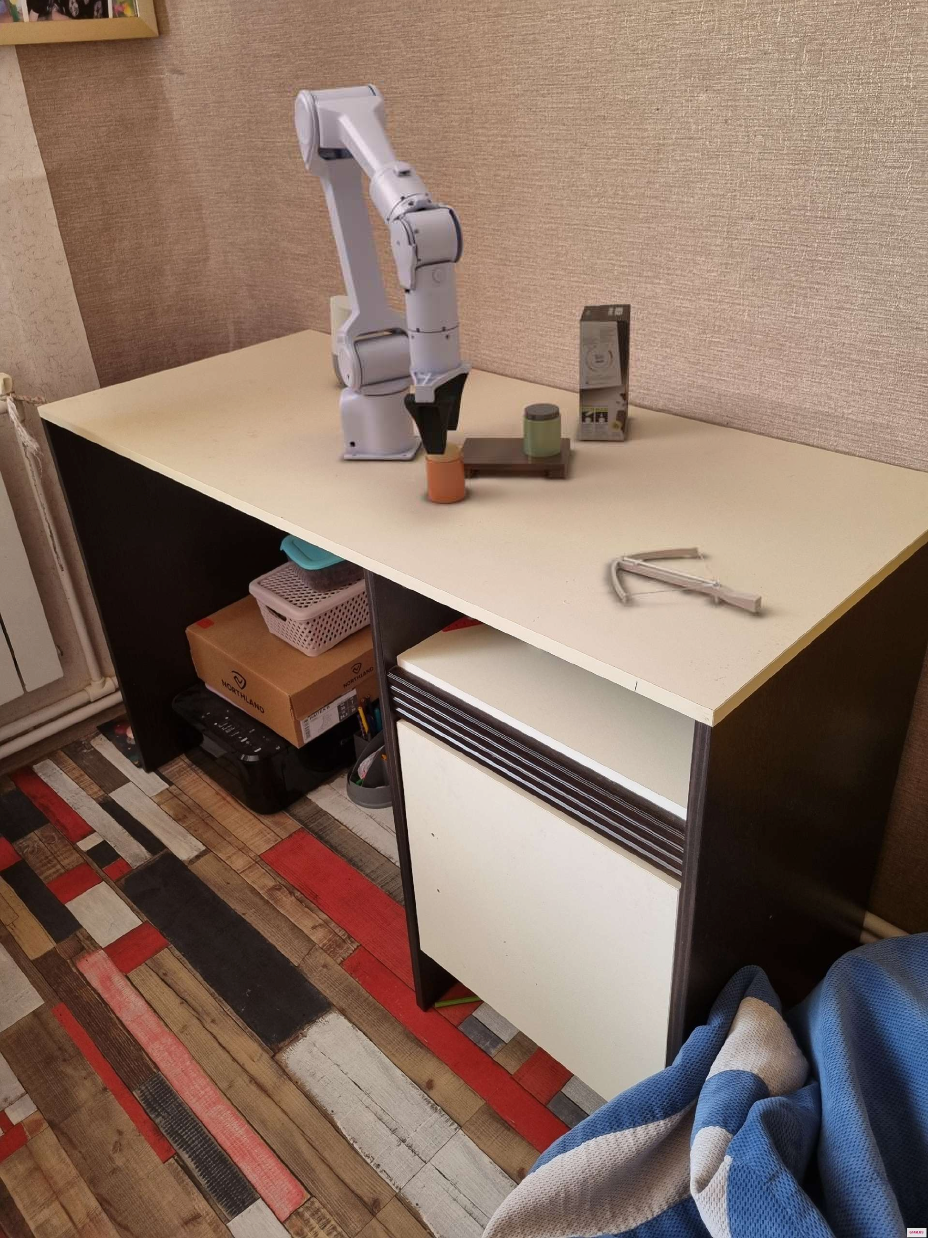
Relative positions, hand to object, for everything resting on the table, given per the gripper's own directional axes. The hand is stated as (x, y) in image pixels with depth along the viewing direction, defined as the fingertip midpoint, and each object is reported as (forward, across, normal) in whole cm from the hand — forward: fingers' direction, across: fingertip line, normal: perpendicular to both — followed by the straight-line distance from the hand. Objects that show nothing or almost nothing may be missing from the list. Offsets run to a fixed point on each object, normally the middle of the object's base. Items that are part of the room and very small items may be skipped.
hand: (442, 441), depth 113 cm
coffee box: (+7, +23, -18) cm, 30 cm away
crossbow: (+7, -21, -28) cm, 36 cm away
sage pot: (+5, +10, -11) cm, 15 cm away
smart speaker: (+8, +45, +23) cm, 51 cm away
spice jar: (+7, 0, 0) cm, 7 cm away
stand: (+7, +10, -7) cm, 14 cm away
